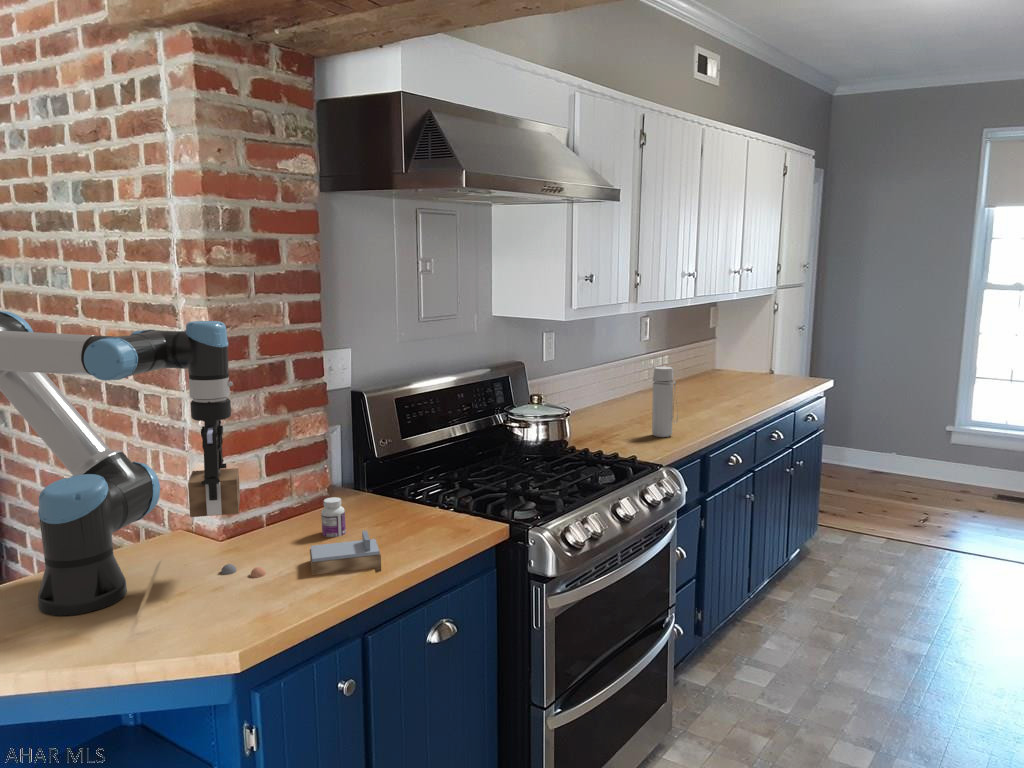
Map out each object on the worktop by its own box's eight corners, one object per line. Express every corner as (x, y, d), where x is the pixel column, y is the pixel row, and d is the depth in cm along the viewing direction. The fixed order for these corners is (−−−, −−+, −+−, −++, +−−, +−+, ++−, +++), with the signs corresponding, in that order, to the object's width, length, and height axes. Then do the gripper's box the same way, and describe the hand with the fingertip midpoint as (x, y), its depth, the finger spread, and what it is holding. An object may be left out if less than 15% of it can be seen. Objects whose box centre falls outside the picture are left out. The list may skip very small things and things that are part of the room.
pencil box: (312, 581, 161) (311, 562, 160) (310, 567, 169) (309, 549, 168) (381, 573, 165) (380, 555, 164) (376, 559, 172) (376, 542, 172)
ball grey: (218, 579, 161) (223, 566, 161) (219, 573, 164) (224, 560, 164) (233, 582, 162) (238, 569, 162) (234, 576, 165) (238, 563, 165)
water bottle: (651, 437, 286) (653, 369, 282) (651, 433, 293) (652, 366, 289) (677, 438, 284) (679, 369, 280) (677, 433, 292) (678, 366, 288)
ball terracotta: (250, 585, 160) (249, 571, 159) (251, 579, 162) (250, 565, 162) (266, 583, 160) (265, 569, 160) (266, 577, 163) (265, 563, 163)
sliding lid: (312, 562, 161) (311, 547, 160) (310, 548, 168) (310, 534, 167) (379, 554, 164) (379, 540, 164) (375, 541, 172) (374, 528, 171)
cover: (190, 517, 156) (187, 477, 155) (194, 503, 164) (192, 466, 163) (238, 513, 158) (236, 474, 157) (240, 500, 167) (238, 463, 166)
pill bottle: (336, 533, 189) (334, 494, 188) (350, 538, 186) (348, 498, 184) (317, 540, 185) (315, 500, 184) (332, 544, 182) (330, 504, 180)
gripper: (227, 407, 149) (233, 522, 152) (232, 389, 169) (237, 490, 173) (184, 409, 146) (191, 526, 150) (195, 390, 167) (201, 493, 171)
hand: (216, 507), depth 161 cm, fingers closed on cover, 9 cm apart
